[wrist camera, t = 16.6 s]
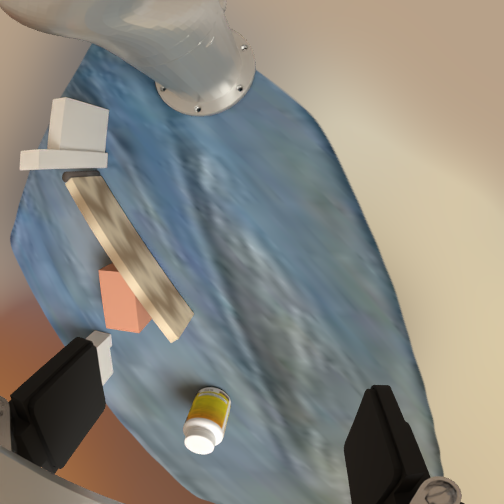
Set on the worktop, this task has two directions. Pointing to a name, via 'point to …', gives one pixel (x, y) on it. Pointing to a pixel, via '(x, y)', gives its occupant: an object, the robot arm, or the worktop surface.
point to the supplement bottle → (206, 420)
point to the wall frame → (76, 156)
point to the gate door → (128, 252)
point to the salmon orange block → (121, 302)
